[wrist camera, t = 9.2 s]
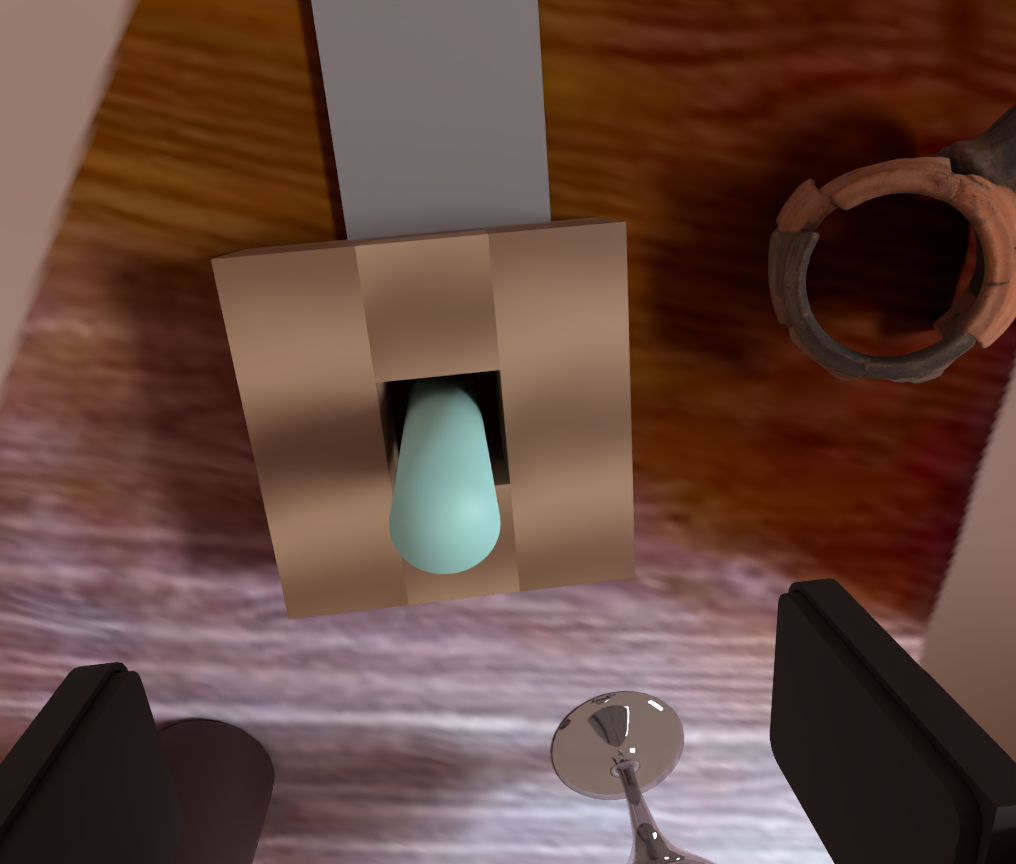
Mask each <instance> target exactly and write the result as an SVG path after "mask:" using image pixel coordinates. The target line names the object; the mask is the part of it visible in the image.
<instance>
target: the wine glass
mask: <svg viewBox="0 0 1016 864" xmlns="http://www.w3.org/2000/svg"><path fill="white" fill-rule="evenodd" d="M683 746H684V732H683V727H682V724H681V722H680V719H679V717H678V716H677V714H676V713H675V712H674V710H673V709H672V708H671V707H669V706H668V705H667V704H666V703H665V702H663V701H661V700H660V699H658V698H656V697H653V696H650V695H648V694H644V693H638V692H615V693H609V694H606V695H602V696H599V697H596V698H594V699H592V700H589V701H587V702H586V703H584V704H582V705H581V706H579V707H578V708H576V709H575V710H574V711H573V712H572V713H571V714H569V716H568V717H567V718H566V719H565V720H564V721H563V722H562V724H561V726H560V727H559V729H558V731H557V733H556V735H555V738H554V741H553V747H552V760H553V764H554V767H555V770H556V771H557V773H558V775H559V777H560V778H561V779H562V780H563V781H564V783H565V784H566V785H567V786H569V787H570V788H571V789H573V790H574V791H576V792H578V793H580V794H582V795H584V796H587V797H591V798H595V799H601V800H618V799H625V798H626V800H627V804H628V809H629V815H630V821H631V829H632V839H633V843H632V850H631V854H630V857H629V860H628V862H627V864H716V863H714V862H712V861H710V860H708V859H706V858H703V857H701V856H698V855H696V854H693V853H691V852H688V851H686V850H683V849H681V848H679V847H677V846H676V845H674V844H673V843H671V842H670V841H669V840H668V839H667V838H666V837H665V836H664V835H663V834H662V833H661V831H660V830H659V828H658V826H657V825H656V823H655V821H654V819H653V817H652V815H651V813H650V811H649V809H648V807H647V805H646V802H645V800H644V798H643V795H642V793H644V792H646V791H648V790H650V789H651V788H653V787H655V786H657V785H658V784H659V783H660V782H662V781H663V780H664V779H665V778H666V777H667V776H668V775H669V774H670V773H671V772H672V771H673V769H674V768H675V766H676V765H677V763H678V761H679V759H680V756H681V754H682V750H683Z"/></svg>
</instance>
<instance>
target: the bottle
mask: <svg viewBox="0 0 1016 864" xmlns="http://www.w3.org/2000/svg"><path fill="white" fill-rule="evenodd" d="M158 734H159V737H160V741H161V744H162V747H163V750H164V753H165V756H166V759H167V763H168V766H169V769H170V772H171V775H172V778H173V781H174V785H175V788H176V791H177V794H178V797H179V800H180V803H181V807H182V810H183V815H184V827H183V834H182V838H181V841H180V844H179V846H178V849H177V851H176V854H175V856H174V859H173V862H172V864H252V862H253V858H254V855H255V851H256V848H257V844H258V841H259V837H260V834H261V830H262V827H263V823H264V820H265V816H266V812H267V809H268V805H269V802H270V798H271V795H272V790H273V783H274V771H273V767H272V763H271V759H270V756H269V755H268V754H267V752H266V751H265V749H264V748H263V746H262V745H261V744H260V742H258V741H257V740H256V739H254V738H253V737H252V736H250V735H249V734H248V733H246V732H245V731H244V730H241V729H238V728H236V727H233V726H230V725H228V724H225V723H221V722H212V721H204V720H199V721H191V722H184V723H178V724H176V725H174V726H171V727H169V728H166V729H164V730H162V731H160V732H159V733H158Z"/></svg>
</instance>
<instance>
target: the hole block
mask: <svg viewBox="0 0 1016 864" xmlns="http://www.w3.org/2000/svg"><path fill="white" fill-rule="evenodd" d="M211 263H212V267H213V272H214V277H215V281H216V286H217V290H218V295H219V300H220V304H221V309H222V313H223V318H224V323H225V327H226V332H227V337H228V341H229V346H230V350H231V355H232V360H233V364H234V369H235V373H236V378H237V383H238V387H239V392H240V396H241V401H242V406H243V410H244V415H245V419H246V424H247V429H248V433H249V438H250V442H251V447H252V452H253V456H254V461H255V465H256V470H257V475H258V479H259V484H260V488H261V493H262V498H263V502H264V507H265V511H266V516H267V521H268V525H269V530H270V535H271V539H272V544H273V548H274V553H275V558H276V562H277V567H278V571H279V576H280V581H281V585H282V590H283V594H284V599H285V604H286V608H287V613H288V617H289V619H295V618H303V617H311V616H320V615H328V614H336V613H345V612H353V611H361V610H370V609H378V608H386V607H395V606H403V605H411V604H420V603H428V602H436V601H444V600H453V599H461V598H469V597H478V596H486V595H494V594H503V593H511V592H519V591H528V590H536V589H544V588H553V587H561V586H569V585H577V584H586V583H594V582H602V581H611V580H619V579H627V578H635V556H634V517H633V477H632V438H631V399H630V359H629V320H628V281H627V242H626V221H620V220H614V219H608V218H602V217H592V218H581V219H570V220H559V221H551V222H543V223H532V224H521V225H510V226H499V227H488V228H477V229H466V230H455V231H443V232H432V233H421V234H410V235H399V236H388V237H377V238H366V239H355V240H338V241H327V242H316V243H305V244H294V245H283V246H271V247H260V248H249V249H244V250H241V251H237V252H234V253H230V254H227V255H224V256H220V257H217V258H213V259H211ZM485 371H494V373H495V384H496V395H497V406H498V417H499V428H500V439H501V444H497V445H487V447H488V452H489V458H490V463H491V469H492V475H493V480H494V486H495V491H496V497H497V503H498V508H499V514H500V532H499V536H498V539H497V542H496V544H495V546H494V547H493V549H492V551H491V552H490V553H489V554H488V556H487V557H485V558H484V559H483V560H482V561H481V562H480V563H478V564H477V565H475V566H473V567H472V568H470V569H467V570H465V571H462V572H458V573H453V574H435V573H429V572H426V571H423V570H421V569H418V568H416V567H414V566H413V565H411V564H410V563H408V562H407V561H406V560H405V559H404V558H403V557H402V556H401V555H400V554H399V553H398V551H397V550H396V548H395V547H394V545H393V543H392V540H391V537H390V533H389V516H390V510H391V504H392V498H393V491H394V485H395V479H396V473H397V467H398V460H399V450H398V443H397V436H396V429H395V422H394V415H393V408H392V401H391V394H390V387H389V381H397V380H406V379H416V378H426V377H436V376H446V375H455V374H465V373H475V372H485Z"/></svg>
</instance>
